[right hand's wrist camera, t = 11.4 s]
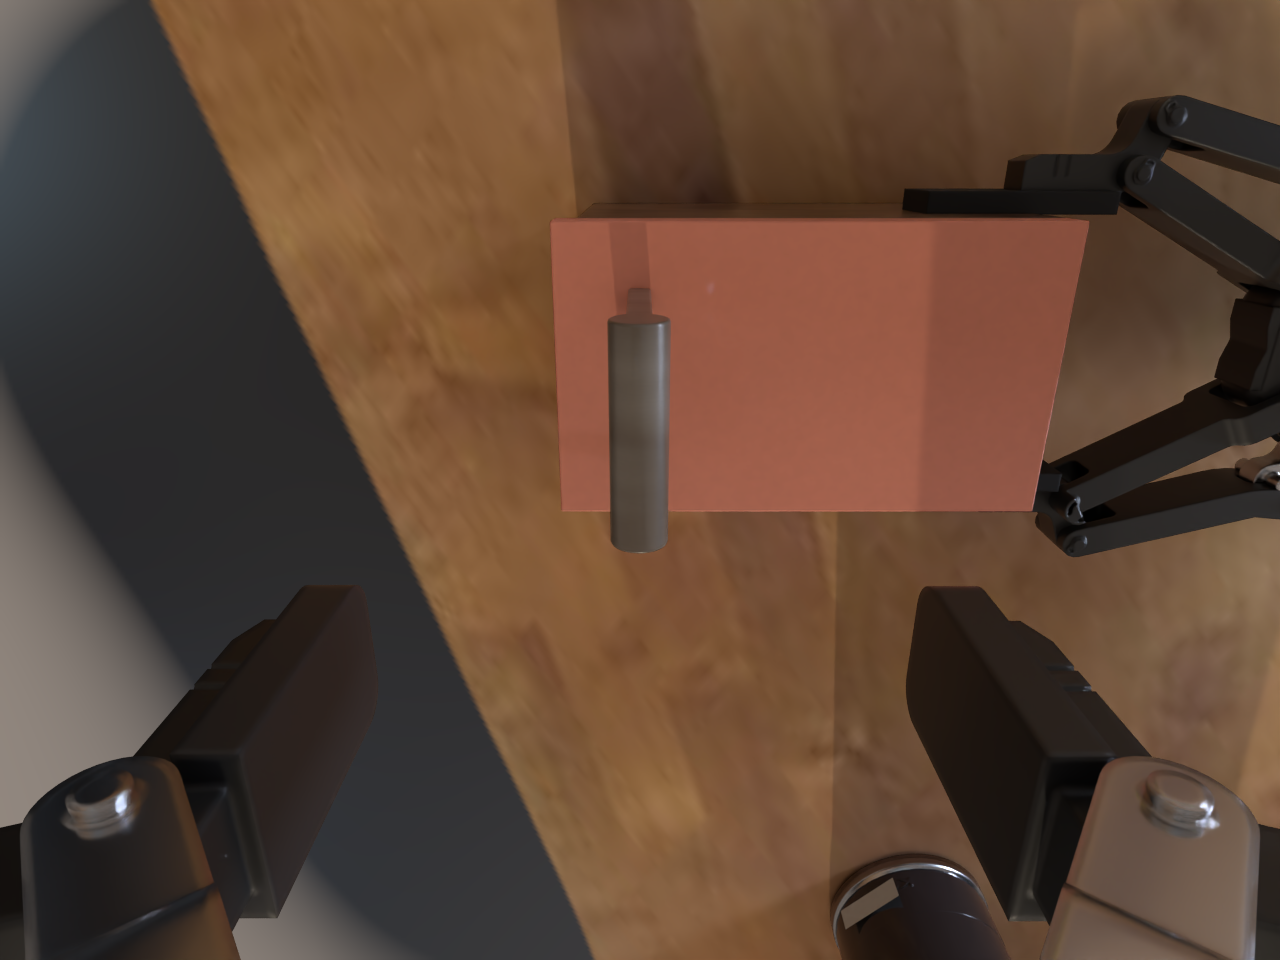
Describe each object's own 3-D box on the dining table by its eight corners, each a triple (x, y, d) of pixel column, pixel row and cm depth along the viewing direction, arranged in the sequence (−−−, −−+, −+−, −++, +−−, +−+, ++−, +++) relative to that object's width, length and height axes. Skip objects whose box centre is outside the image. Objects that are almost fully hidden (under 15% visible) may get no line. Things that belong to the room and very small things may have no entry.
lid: (564, 497, 29) (537, 616, 21) (553, 218, 25) (516, 241, 18) (1016, 497, 29) (1149, 616, 21) (1069, 217, 25) (1252, 241, 18)
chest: (597, 415, 38) (583, 496, 29) (593, 203, 34) (575, 217, 25) (924, 416, 38) (1015, 497, 29) (954, 203, 34) (1068, 218, 25)
